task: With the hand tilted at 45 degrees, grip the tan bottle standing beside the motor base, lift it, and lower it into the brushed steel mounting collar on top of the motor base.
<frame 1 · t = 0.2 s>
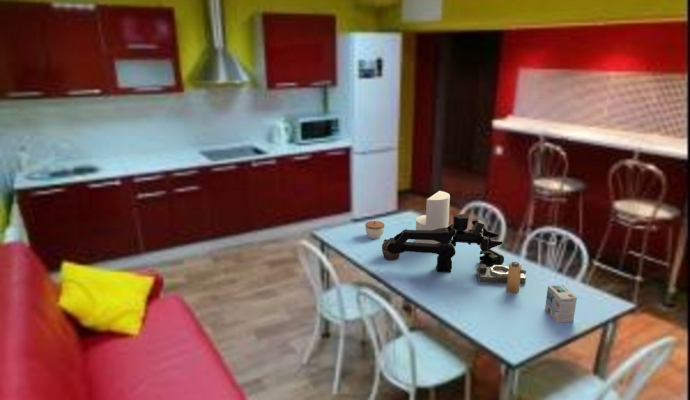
hand: (500, 239, 223), 17 cm above the table, tool horizontal, fingers open, 9 cm apart
light bulb box: (558, 315, 191), on the table
cylinder: (431, 244, 260), on the table
tan bottle: (512, 290, 211), on the table
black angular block: (491, 264, 236), on the table
motor base: (500, 278, 221), on the table
cupcake: (391, 257, 245), on the table
lidded jar: (374, 237, 271), on the table
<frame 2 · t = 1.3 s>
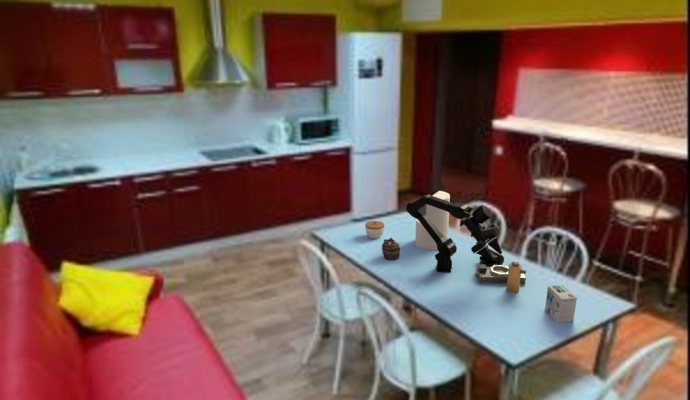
hand: (497, 257, 211), 14 cm above the table, tool tilted 45°, fingers open, 9 cm apart
nothing on the table moved.
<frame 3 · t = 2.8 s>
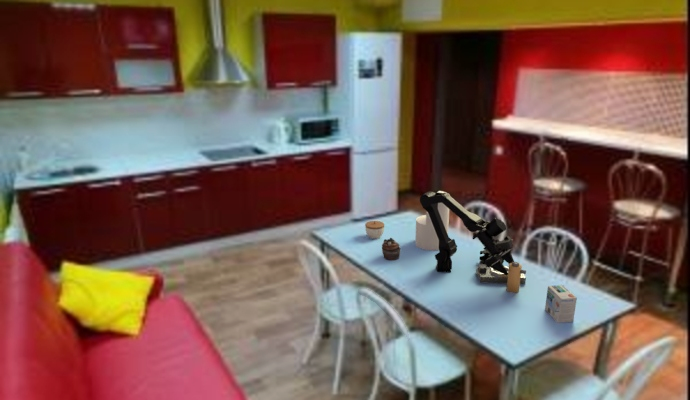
hand: (511, 270, 209), 9 cm above the table, tool tilted 45°, fingers open, 9 cm apart
nothing on the table moved.
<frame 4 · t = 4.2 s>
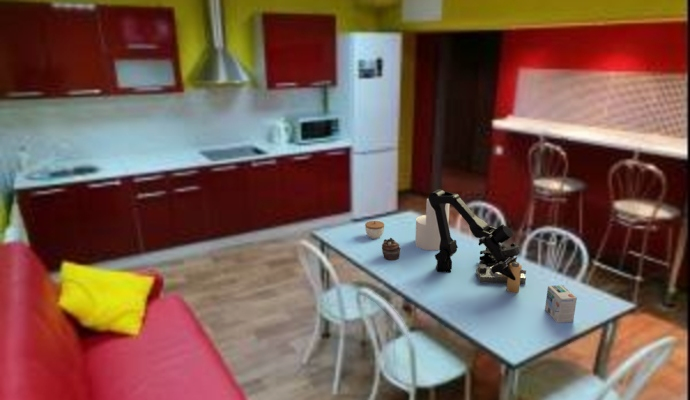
hand: (517, 277, 208), 7 cm above the table, tool tilted 45°, fingers closed on tan bottle, 5 cm apart
tan bottle: (512, 290, 211), on the table, touching gripper
everything else where it was.
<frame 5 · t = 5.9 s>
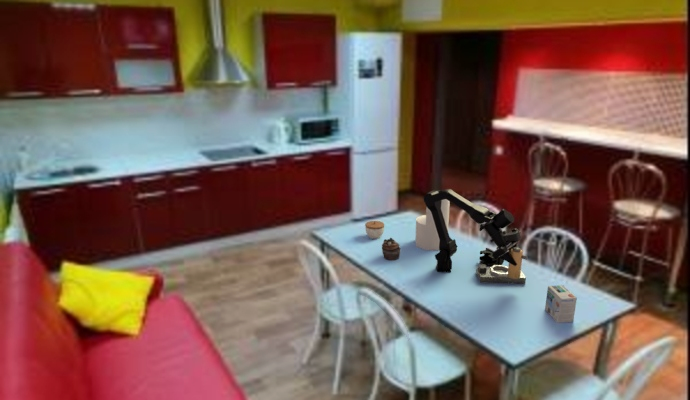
hand: (518, 263, 206), 13 cm above the table, tool tilted 45°, fingers closed on tan bottle, 5 cm apart
tan bottle: (513, 275, 209), point 7 cm above the table, touching gripper
everything else where it was.
when the fingers open (10 cm above the table, at t = 8.0 s): tan bottle stays where it is, resting on motor base.
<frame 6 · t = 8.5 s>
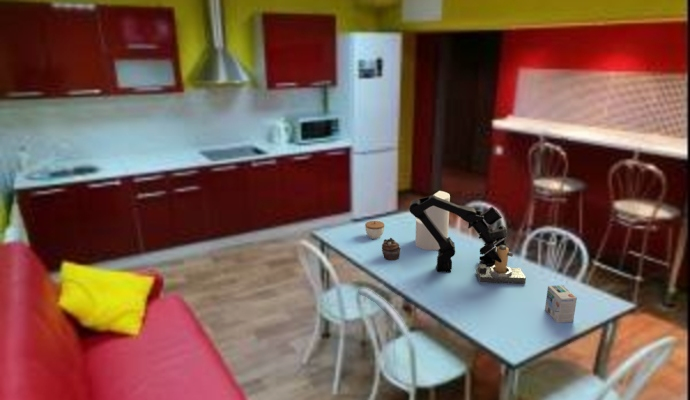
hand: (504, 258, 217), 10 cm above the table, tool tilted 45°, fingers open, 9 cm apart
tan bottle: (500, 272, 220), point 3 cm above the table, touching motor base
everything else where it was.
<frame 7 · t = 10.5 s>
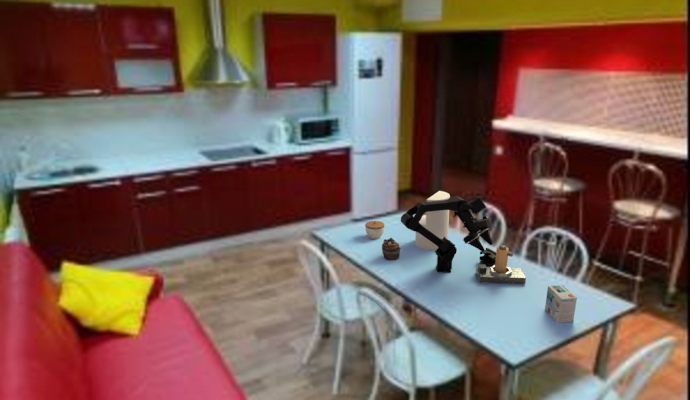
hand: (487, 247, 221), 13 cm above the table, tool tilted 45°, fingers open, 9 cm apart
nothing on the table moved.
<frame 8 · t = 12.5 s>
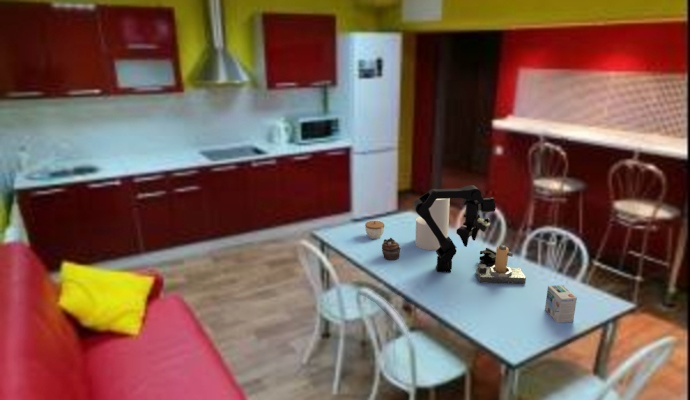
hand: (469, 243, 228), 13 cm above the table, tool pointing down, fingers open, 9 cm apart
nothing on the table moved.
at the end: tan bottle 0.1 cm off-centre on the motor base, point 3.0 cm above the motor base's base; tan bottle tilted 0°; the gripper is holding nothing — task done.
